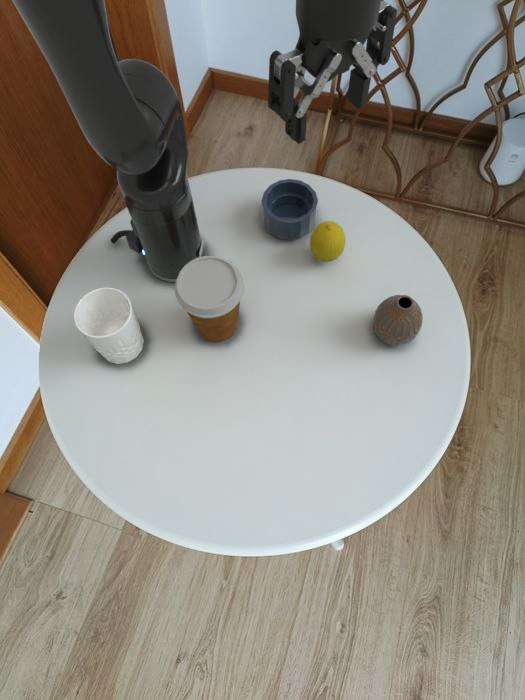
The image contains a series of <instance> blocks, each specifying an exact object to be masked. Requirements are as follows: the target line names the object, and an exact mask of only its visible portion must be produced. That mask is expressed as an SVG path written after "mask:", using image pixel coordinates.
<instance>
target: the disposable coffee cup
mask: <svg viewBox="0 0 525 700" xmlns="http://www.w3.org/2000/svg"><path fill="white" fill-rule="evenodd" d="M244 291H245V282H244V277H243V275H242V272H241V271H240V270H239V269H238V267H236V265H234V264H233V263H232V261H229V260H228V259H226V258H224V257H222V256H218V255H205V256H203V257H199V258H196V259H194V260H192V261H190V262H189V263H188V264H186V265H185V266H184V267H183V269H182V270H181V271H180V273H179V276H178V278H177V280H176V282H174V295H175V298H176V301H177V303H178V305H180V308H182V309H183V310H184V311H185V312H186V313H187V314H188V316H189V318H190V320H191V321H192V323H193V325H194V327H195V328H196V330H197V332H198V334H199V336H201V337H202V338H203V339H205V340H206V341H207V342H212V343H220V342H225V341H227V340H229V339H230V338H231V337H233V336H234V334H235V333H236V331H237V329H238V324H239V323H238V322H239V314H240V305H241V301H242V297H243V295H244Z"/></svg>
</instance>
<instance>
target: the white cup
mask: <svg viewBox="0 0 525 700" xmlns="http://www.w3.org/2000/svg"><path fill="white" fill-rule="evenodd" d="M73 321H74V324H75V326H76V328H77V329H78V330H79V332H80V333H81V334H82V335H83V337H84V338H85V339H86V341H88V343H89V344H90V345H91V346H92V347H93V348H94V349H95V350H96V351H97V352H98V353H99V354H100V355H101V356H102V357H103V358H104V359H105V360H106V361H107V362H109V363H112V364H117V365H120V364H121V365H122V364H127V363H130V362H131V361H133V360H134V359H136V358H137V357H138V356H139V355H140V353H141V352H142V350H143V347H144V342H145V341H144V337H143V333H142V331H141V329H142V328H141V326H140V323H139V320H138V317H137V315H136V311H135V309H134V307H133V304H132V302H131V299H130V298H129V296H128V295H127V294H126V293H125V292H124V291H122V290H120V289H118V288H114V287H108V286H107V287H106V286H105V287H99V288H96V289H93V290H91V291H89V292H87V293H85V294H84V296H82V297H81V299H79V300H78V302H77V304H76V306H75V308H74V311H73Z"/></svg>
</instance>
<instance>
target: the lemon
mask: <svg viewBox="0 0 525 700" xmlns="http://www.w3.org/2000/svg"><path fill="white" fill-rule="evenodd" d="M309 247H310V251H311V254H312V255H313V256H314V257H315V259H317V260H318V261H321V262H323V263H330V262H334V261H335V260H337V259H338V258H340V257H341V255H342V254H343V252H344V250H345V247H346V234H345V232H344V229H343V227H341V225H340V224H338V223H337V222H335V221H332V220H331V221H330V220H325V221H322V222H320V223H318V224H317V225H316V226H314V228H313V229H312V232H311V234H310V239H309Z"/></svg>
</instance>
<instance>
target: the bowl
mask: <svg viewBox="0 0 525 700" xmlns="http://www.w3.org/2000/svg"><path fill="white" fill-rule="evenodd" d="M318 203H319V199H318V196H317V193H316V191H315V189H313V187H312V186H311V185H310V184H308V183H306V182H304V181H303V180H299V179H294V178H293V179H292V178H286V179H280V180H277V181H275V182H274V183H272V184H270V185H269V186H268V187H267V188H266V189H265V190H264V191H263V193H262V198H261V219H262V223H263V227H264V228H265V229H266V231H267V232H268V233H269V234H270V235H272V236H273V237H276V238H277V239H281V240H288V241H289V240H291V241H292V240H297V239H301V238H303V237H304V236H306V235H308V234H310V232H311V231H313V230H314V228H315V227H316V226H315V225H316V222H317V215H318V214H317V213H318Z"/></svg>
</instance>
